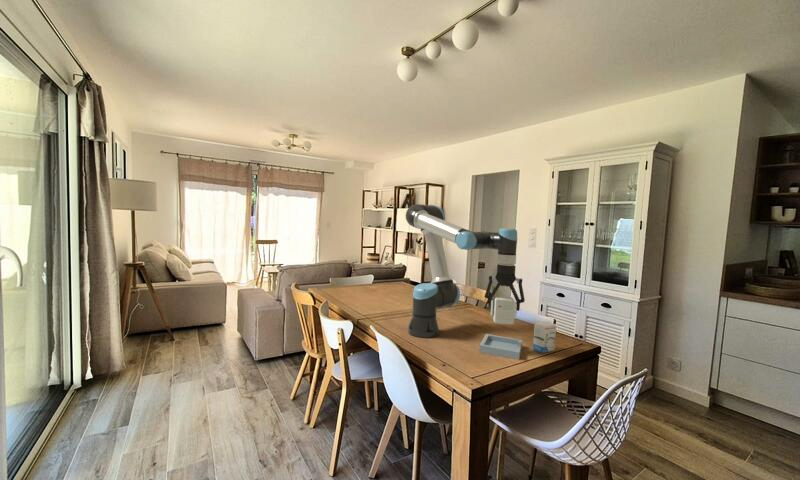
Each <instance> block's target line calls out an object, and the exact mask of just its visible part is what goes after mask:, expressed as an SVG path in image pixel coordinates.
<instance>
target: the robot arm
mask: <svg viewBox="0 0 800 480" xmlns="http://www.w3.org/2000/svg"><path fill="white" fill-rule="evenodd" d="M405 220H406V223H407V224H408V225H409V226H411V227H413V228H415V229H417V230H420V233H422V234H423V235H424V239H425V244H426V250H427V256H428V262H429V266H430V272H431V278H432V280H431V282H427V283H426V282H423V283H419V284H417V285H415V286H414V288H413V293H412V312H411V313H412V316H411V319H410V322H409V323H408V327H407V333H408V334H409V335H411V336H413V337H416V338H417V337H418V338H424V339H425V338H434V337H437V336H439V335H440V327H439V322H438V319H437V310H440V309H445V308H450V307H452V306H455V305H456V304H458V302H459V301H460V297H461V291H460V288H459V286H458V285H457V284H455V283H454V279H453V278H452V277H451V276H450V275H449V270H448V264H447V258H446V253H445V249H444V244H443V239H445V240H447V241H449V242H451V243H454V244H456V246H457V247H458V249H460V250H466V251H469V250H483V249H484V250H485V249H489V250H497V261H496V262H497V263H498V264H497V266H496V275H489V276H488V285H487V287H486V291H485V294H484V298H486V299H488V307H489V308H490V316H493V308H494V297H495V294H496V293H497V291H498V290H499V289H500V286H501V287H506V288H507V287H509V288H510V290H511V293H512V295H513V297H514V300H515V309H514V320H515V319H517V312H519V311H520V310H521V309H520V307H521V304H522V303H525V294H524V289H523V278H519V277H516V268H517V267H516V264H517V246H518V230H517V229H516V228H505V227H504V228H502V227H501V228H499V231H498V232H494V231H493V232H492V231H486V230H484V231H483V230H482V231H472V230H469V229H466V228H463V227H462V226H458V225H456V224H454V223H452V222H449V221H446V214H445V212H444V210H443V209H442V208H441V207H440V206H438V205H437V206H436V205H433V204H420V203H419V204H418V203H416V204H413V205H410V206H409V207H408V208H407V210H406V212H405ZM495 280H496V282H497V284H496V285H495V287H494V289H493V291H492V292H491V294H490V291H491V289H492V285H493V282H494V281H495ZM515 282H516V283H517V284H518V290H519V294H520V295H518V293H517V291H516V289H515V287H514V286H515V285H514V283H515ZM489 294H490V295H489Z"/></svg>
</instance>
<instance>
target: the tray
mask: <svg viewBox="0 0 800 480" xmlns="http://www.w3.org/2000/svg"><path fill="white" fill-rule="evenodd" d="M483 336H484V337H483V338H482V340H481V342H480V343H479V346H478V347H479V348H478V349H479V350H478V352H479V353H482V354H487V355H491V356H492V355H493V356H498V357H503V358H507V359H514V360H518V361H519V360H520V357H521V353H522V347H523V340H522V339H517V338H514V337H513V338H511V337H506V336H501V335H495V334H491V333H490V334H489V333H485V334H484V335H483Z"/></svg>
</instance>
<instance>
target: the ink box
mask: <svg viewBox="0 0 800 480" xmlns="http://www.w3.org/2000/svg"><path fill="white" fill-rule="evenodd" d="M533 327H534V329H533V343H532V344H533V346H532V350H534V351H536V352H539V353H541V354H545V353H548V352H553V351H554V352H555V346H556V336H557V335H556V333H557V324H556V323H553V322H550V321H541V322H535V323H534V326H533Z"/></svg>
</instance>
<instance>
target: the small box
mask: <svg viewBox="0 0 800 480" xmlns="http://www.w3.org/2000/svg"><path fill="white" fill-rule="evenodd" d="M493 299H494V308H493V315H492V320H493V322H494V324H499V325H500V324H501V325H514V324H515V319H514V309H515V302H516V300H515V298H513V296H512V297H509V296H493Z"/></svg>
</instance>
